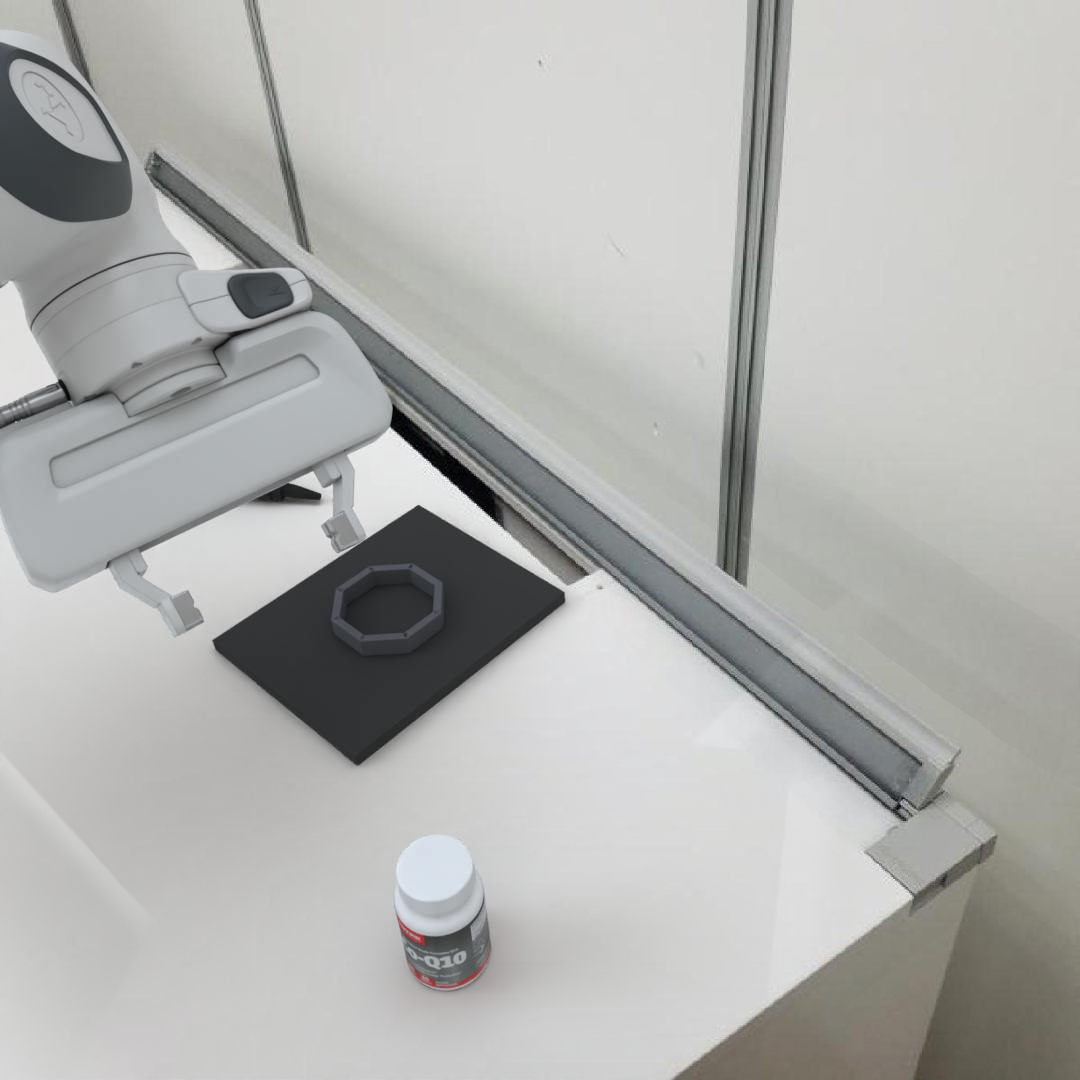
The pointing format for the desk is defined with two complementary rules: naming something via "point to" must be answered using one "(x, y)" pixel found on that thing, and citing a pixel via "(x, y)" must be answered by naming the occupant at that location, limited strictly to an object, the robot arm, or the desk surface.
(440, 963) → the pill bottle
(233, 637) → the socket pad
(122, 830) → the desk surface
